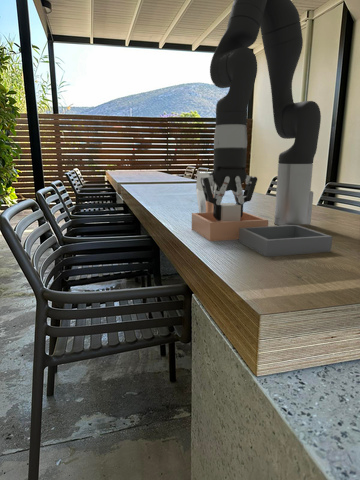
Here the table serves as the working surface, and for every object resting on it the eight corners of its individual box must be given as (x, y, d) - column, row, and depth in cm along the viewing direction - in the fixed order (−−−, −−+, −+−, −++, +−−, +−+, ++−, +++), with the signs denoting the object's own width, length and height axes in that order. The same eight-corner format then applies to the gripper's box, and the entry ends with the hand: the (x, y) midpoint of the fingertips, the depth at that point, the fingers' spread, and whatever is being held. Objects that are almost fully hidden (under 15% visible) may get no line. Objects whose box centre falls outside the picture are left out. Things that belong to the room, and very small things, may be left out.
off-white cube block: (232, 220, 84) (233, 202, 83) (240, 224, 80) (241, 205, 78) (215, 221, 83) (216, 203, 82) (222, 224, 78) (223, 205, 77)
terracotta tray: (241, 229, 90) (241, 211, 89) (266, 241, 77) (268, 220, 76) (191, 232, 87) (191, 213, 86) (209, 245, 74) (210, 222, 72)
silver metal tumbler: (219, 228, 91) (220, 172, 88) (194, 227, 92) (194, 172, 89) (221, 224, 98) (222, 171, 94) (197, 223, 99) (198, 171, 95)
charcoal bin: (294, 241, 77) (296, 224, 76) (330, 256, 65) (332, 236, 64) (238, 245, 73) (239, 227, 72) (265, 261, 62) (267, 240, 61)
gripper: (251, 147, 82) (247, 215, 86) (195, 146, 79) (195, 218, 83) (266, 146, 75) (261, 221, 79) (206, 145, 72) (204, 223, 76)
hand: (227, 219), depth 81 cm, fingers closed on off-white cube block, 4 cm apart
